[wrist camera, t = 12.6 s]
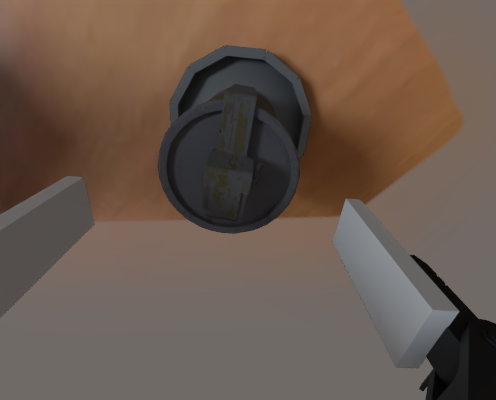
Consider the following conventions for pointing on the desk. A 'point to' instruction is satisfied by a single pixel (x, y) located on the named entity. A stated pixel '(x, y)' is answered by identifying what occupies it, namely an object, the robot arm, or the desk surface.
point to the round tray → (249, 74)
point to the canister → (229, 162)
